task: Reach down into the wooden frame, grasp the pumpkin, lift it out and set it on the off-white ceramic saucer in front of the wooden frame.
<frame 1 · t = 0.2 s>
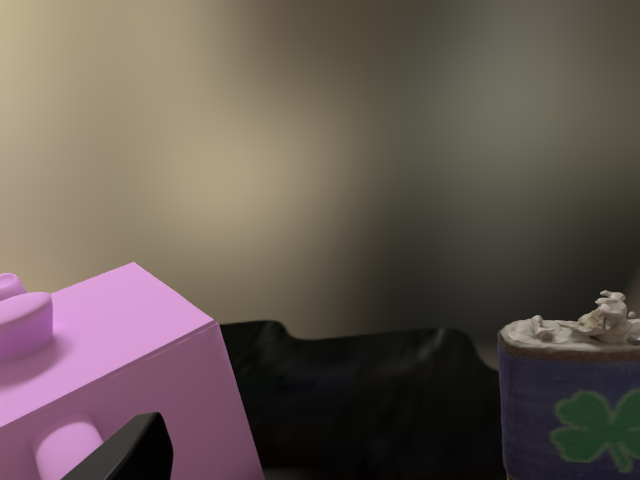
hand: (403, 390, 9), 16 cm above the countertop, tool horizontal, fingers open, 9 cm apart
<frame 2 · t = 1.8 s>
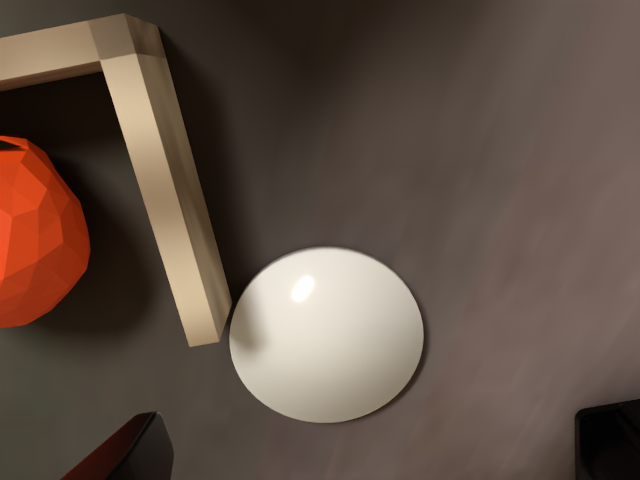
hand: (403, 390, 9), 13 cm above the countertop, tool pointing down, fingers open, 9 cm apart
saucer: (326, 334, 23), on the countertop
pumpkin: (25, 220, 21), on the countertop
wooden frame: (17, 211, 20), on the countertop
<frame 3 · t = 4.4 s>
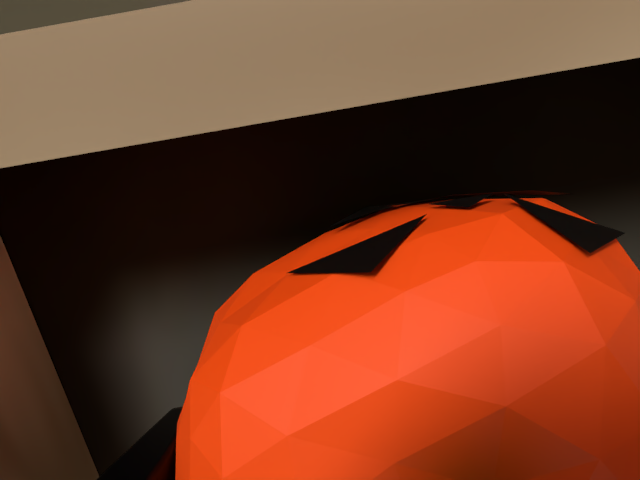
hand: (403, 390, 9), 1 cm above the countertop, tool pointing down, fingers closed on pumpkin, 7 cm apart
pumpkin: (388, 348, 10), on the countertop, touching gripper
wooden frame: (387, 333, 10), on the countertop
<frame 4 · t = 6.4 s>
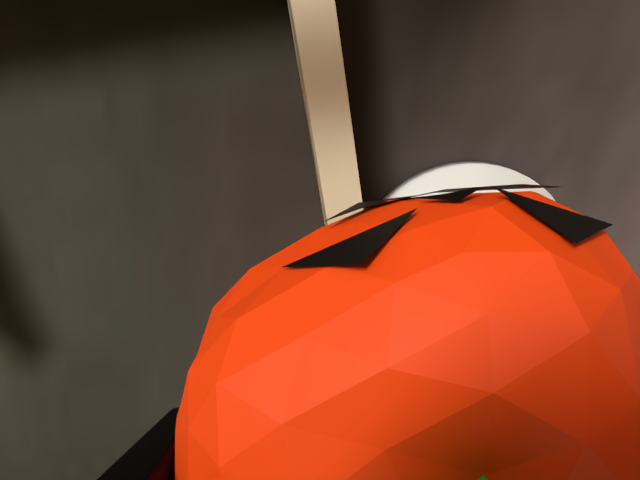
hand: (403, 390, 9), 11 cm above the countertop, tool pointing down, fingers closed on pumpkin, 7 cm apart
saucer: (457, 267, 20), on the countertop
pumpkin: (385, 343, 10), point 9 cm above the countertop, touching gripper
wooden frame: (111, 111, 17), on the countertop
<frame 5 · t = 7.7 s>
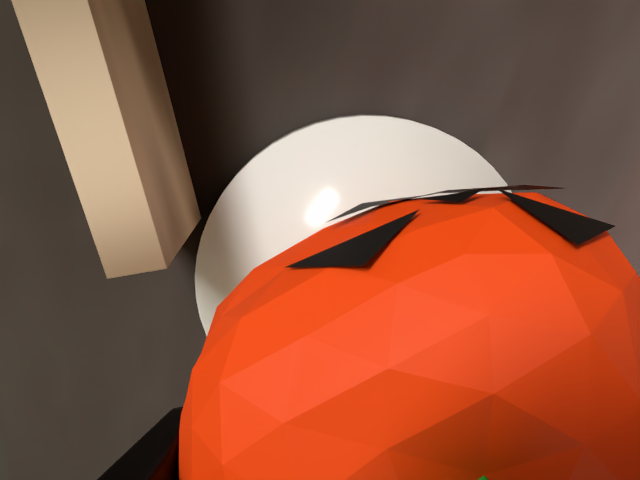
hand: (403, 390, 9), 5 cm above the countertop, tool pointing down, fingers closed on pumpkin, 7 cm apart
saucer: (361, 277, 13), on the countertop
pumpkin: (388, 343, 10), point 3 cm above the countertop, touching gripper
when the fingers open (3 cm above the countertop, at t = 8.6 s): pumpkin stays where it is, resting on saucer.
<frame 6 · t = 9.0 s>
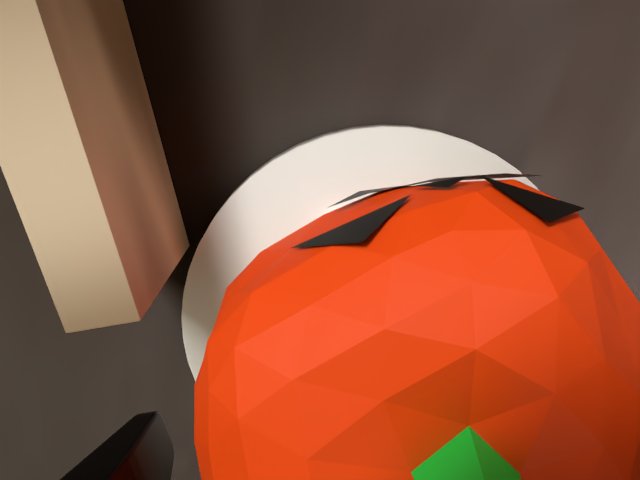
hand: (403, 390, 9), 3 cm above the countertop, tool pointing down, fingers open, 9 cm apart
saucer: (376, 313, 11), on the countertop
pumpkin: (384, 324, 11), point 1 cm above the countertop, touching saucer
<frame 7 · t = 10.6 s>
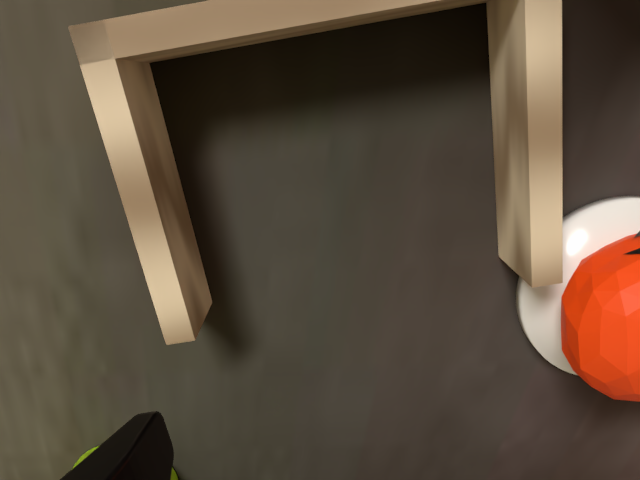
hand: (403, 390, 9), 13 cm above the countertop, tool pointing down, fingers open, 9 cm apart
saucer: (610, 287, 23), on the countertop
pumpkin: (619, 292, 22), point 1 cm above the countertop, touching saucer
wooden frame: (334, 152, 20), on the countertop
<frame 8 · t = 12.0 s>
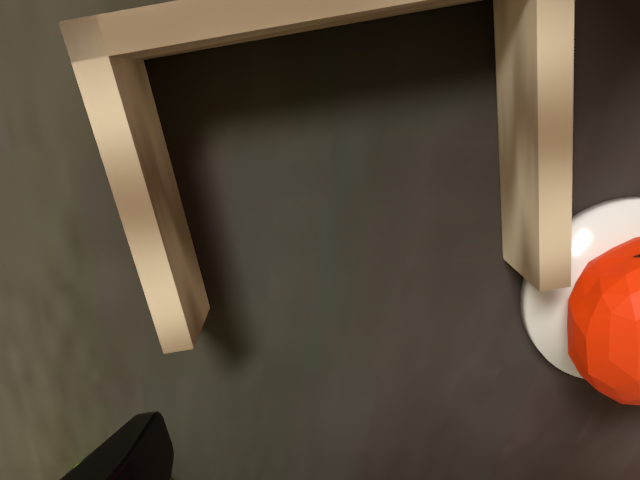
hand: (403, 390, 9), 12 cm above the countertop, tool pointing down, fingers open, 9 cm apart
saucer: (614, 289, 22), on the countertop
pumpkin: (624, 294, 22), point 1 cm above the countertop, touching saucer
wooden frame: (336, 153, 20), on the countertop
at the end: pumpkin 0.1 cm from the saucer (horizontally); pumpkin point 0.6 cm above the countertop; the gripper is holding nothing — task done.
